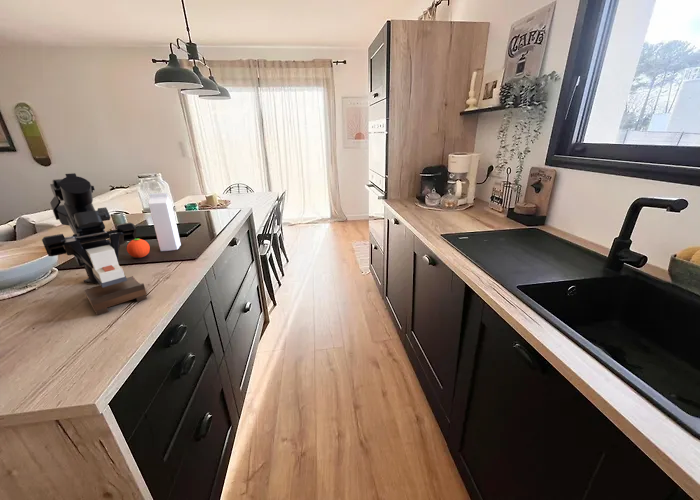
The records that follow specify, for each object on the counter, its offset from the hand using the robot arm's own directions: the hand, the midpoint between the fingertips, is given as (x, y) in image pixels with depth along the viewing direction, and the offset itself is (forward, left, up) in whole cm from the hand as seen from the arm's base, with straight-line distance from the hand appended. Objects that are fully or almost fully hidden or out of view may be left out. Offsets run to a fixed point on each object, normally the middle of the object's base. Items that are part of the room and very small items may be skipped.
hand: (105, 264), depth 75 cm
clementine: (-19, +27, -10) cm, 34 cm away
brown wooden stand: (+1, -1, -10) cm, 10 cm away
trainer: (0, 0, -4) cm, 4 cm away
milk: (-15, +37, -10) cm, 41 cm away
